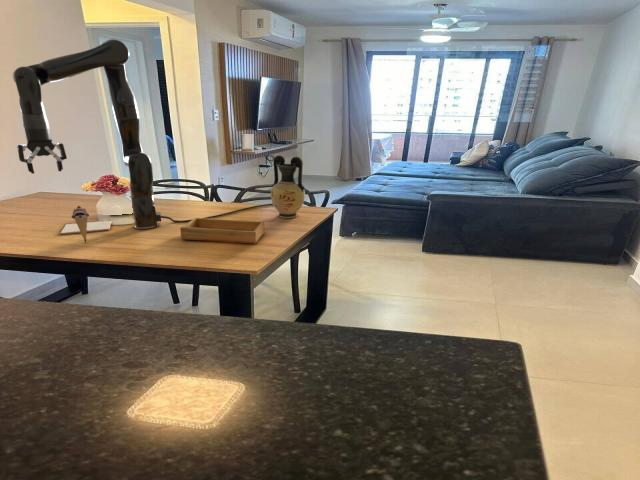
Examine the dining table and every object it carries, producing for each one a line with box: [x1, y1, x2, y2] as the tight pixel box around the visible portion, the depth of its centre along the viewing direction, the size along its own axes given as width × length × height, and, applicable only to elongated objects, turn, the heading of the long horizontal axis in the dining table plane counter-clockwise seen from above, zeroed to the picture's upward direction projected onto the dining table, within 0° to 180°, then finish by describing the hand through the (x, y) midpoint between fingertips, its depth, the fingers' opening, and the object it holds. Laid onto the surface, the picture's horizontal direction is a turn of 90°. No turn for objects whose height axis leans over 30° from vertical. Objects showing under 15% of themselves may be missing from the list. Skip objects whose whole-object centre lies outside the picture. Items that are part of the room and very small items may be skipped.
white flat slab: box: [59, 220, 112, 236], centre depth 169 cm, size 18×16×1 cm
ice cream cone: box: [71, 205, 90, 244], centre depth 147 cm, size 6×6×15 cm
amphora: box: [270, 154, 306, 219], centre depth 189 cm, size 18×17×30 cm
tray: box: [179, 217, 265, 245], centre depth 159 cm, size 31×15×6 cm, turn 85°
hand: (46, 172), depth 143 cm, fingers open, 8 cm apart
